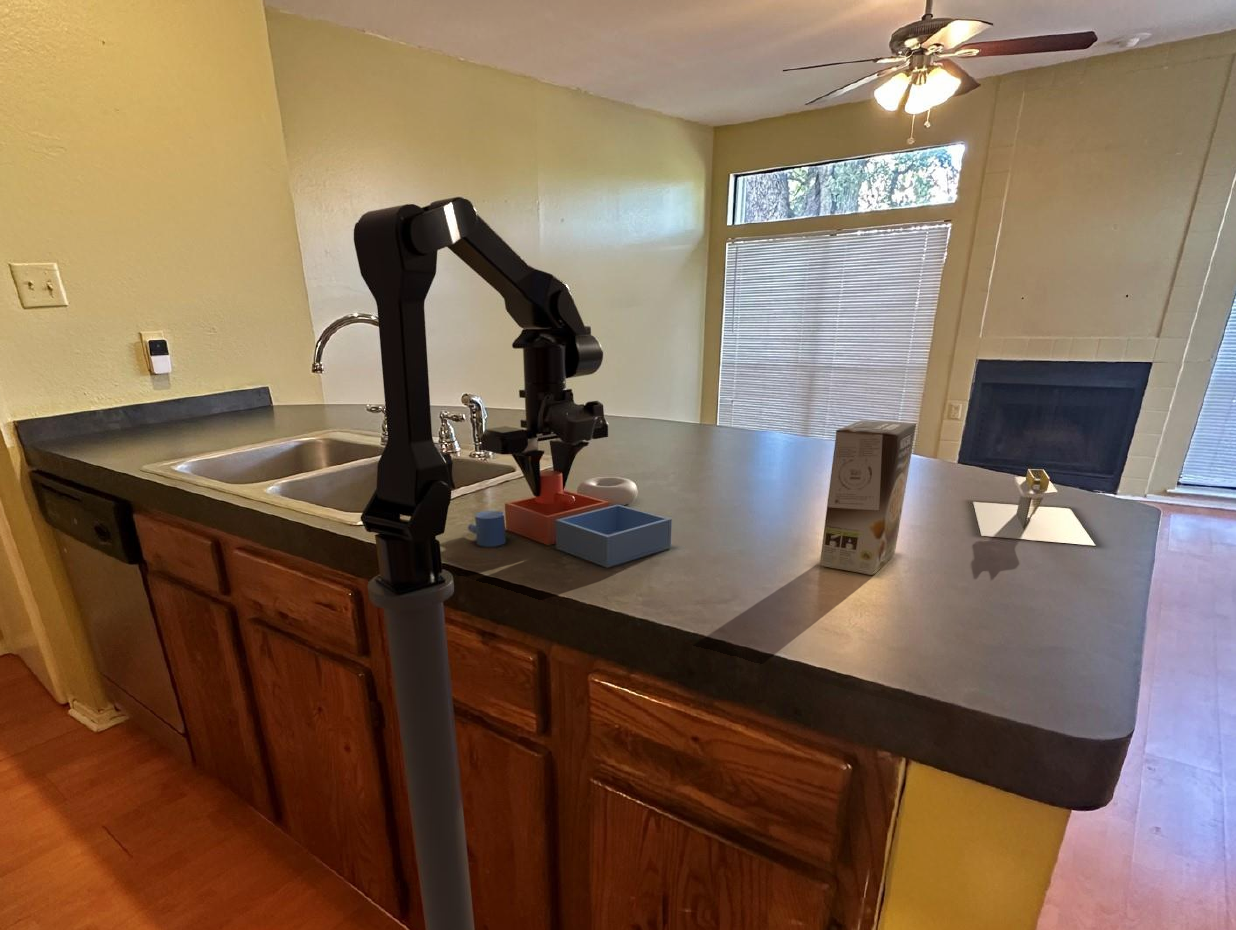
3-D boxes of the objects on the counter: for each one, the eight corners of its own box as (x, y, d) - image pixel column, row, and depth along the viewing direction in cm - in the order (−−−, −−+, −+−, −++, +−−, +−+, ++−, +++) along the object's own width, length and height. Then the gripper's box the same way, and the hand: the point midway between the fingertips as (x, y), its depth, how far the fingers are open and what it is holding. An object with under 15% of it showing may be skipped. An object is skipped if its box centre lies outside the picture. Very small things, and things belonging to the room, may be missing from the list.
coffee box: (875, 576, 78) (897, 434, 72) (818, 566, 82) (834, 430, 76) (896, 554, 85) (917, 421, 79) (842, 545, 89) (858, 418, 83)
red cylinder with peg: (530, 500, 101) (528, 473, 99) (551, 495, 103) (550, 469, 102) (562, 510, 95) (561, 481, 94) (584, 505, 97) (584, 477, 96)
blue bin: (607, 568, 85) (607, 537, 83) (556, 548, 92) (555, 519, 91) (670, 548, 91) (671, 518, 89) (617, 531, 98) (618, 504, 97)
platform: (1069, 508, 100) (1081, 463, 97) (1095, 545, 85) (1110, 493, 82) (972, 501, 105) (981, 458, 102) (981, 535, 90) (991, 486, 88)
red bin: (547, 545, 94) (547, 517, 92) (506, 529, 102) (504, 503, 100) (609, 528, 100) (609, 501, 98) (565, 514, 108) (564, 489, 106)
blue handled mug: (511, 542, 96) (509, 514, 94) (487, 548, 94) (485, 520, 92) (482, 530, 101) (480, 504, 100) (458, 536, 99) (456, 509, 98)
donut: (646, 498, 115) (592, 491, 120) (647, 477, 114) (593, 472, 119) (622, 513, 108) (565, 505, 112) (622, 491, 106) (565, 484, 111)
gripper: (523, 392, 83) (529, 516, 89) (635, 378, 93) (634, 491, 99) (475, 387, 92) (482, 501, 97) (582, 375, 102) (584, 479, 107)
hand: (548, 493), depth 100 cm, fingers closed on red cylinder with peg, 4 cm apart
